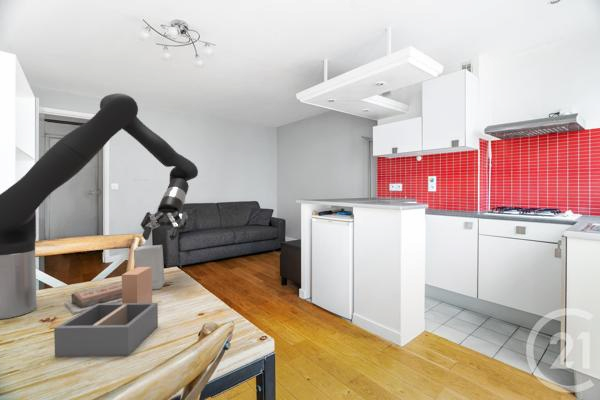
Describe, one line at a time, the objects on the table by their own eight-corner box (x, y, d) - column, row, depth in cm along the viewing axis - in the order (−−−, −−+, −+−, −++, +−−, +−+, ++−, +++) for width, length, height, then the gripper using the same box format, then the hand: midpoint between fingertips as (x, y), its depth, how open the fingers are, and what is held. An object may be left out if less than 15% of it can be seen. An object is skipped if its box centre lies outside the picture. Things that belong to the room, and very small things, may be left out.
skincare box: (164, 284, 105) (164, 244, 105) (160, 289, 99) (159, 247, 99) (139, 285, 103) (139, 245, 103) (134, 291, 97) (133, 248, 97)
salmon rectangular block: (122, 318, 76) (121, 274, 76) (138, 306, 84) (137, 266, 84) (137, 318, 76) (136, 274, 76) (152, 306, 84) (151, 266, 84)
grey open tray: (54, 356, 59) (54, 328, 59) (97, 326, 72) (97, 303, 72) (128, 355, 59) (128, 327, 59) (157, 326, 72) (157, 302, 72)
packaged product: (129, 277, 99) (141, 283, 93) (129, 291, 99) (142, 297, 93) (63, 291, 85) (73, 299, 78) (63, 307, 85) (73, 316, 79)
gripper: (149, 195, 101) (131, 231, 90) (189, 195, 101) (177, 231, 90) (156, 209, 106) (140, 245, 95) (194, 209, 107) (183, 244, 96)
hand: (158, 238), depth 93 cm, fingers open, 8 cm apart
